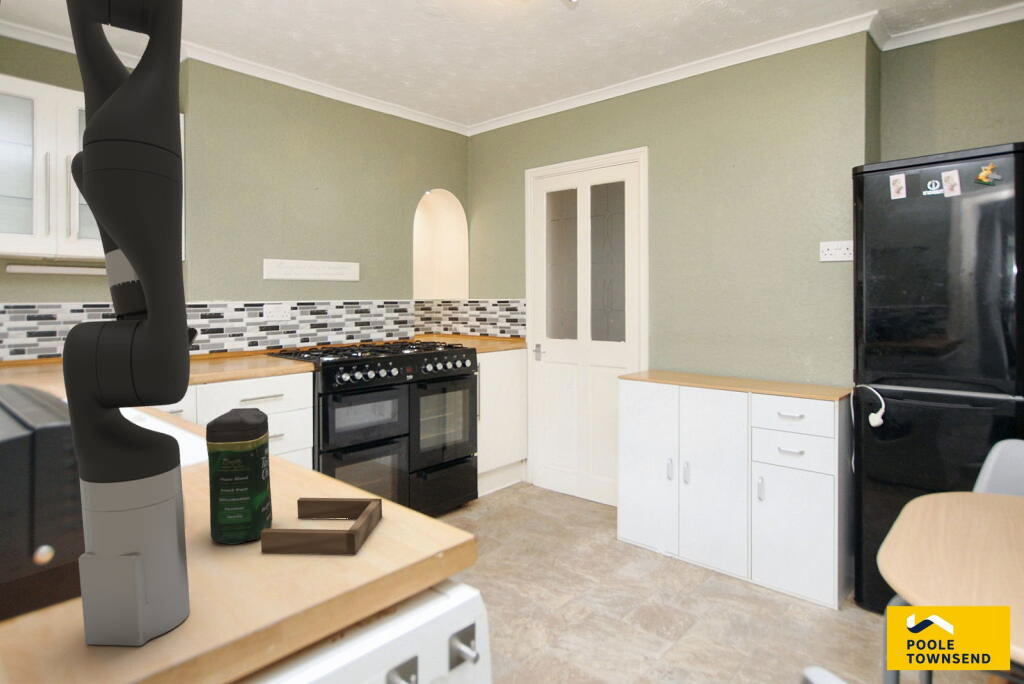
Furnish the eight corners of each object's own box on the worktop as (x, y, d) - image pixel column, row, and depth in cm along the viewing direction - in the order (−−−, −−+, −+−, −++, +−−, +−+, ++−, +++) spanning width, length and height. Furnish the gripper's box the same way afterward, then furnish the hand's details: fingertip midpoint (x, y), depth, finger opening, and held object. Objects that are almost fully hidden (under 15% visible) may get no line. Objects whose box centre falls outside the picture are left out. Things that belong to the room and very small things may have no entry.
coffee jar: (263, 544, 86) (256, 416, 84) (204, 548, 85) (196, 419, 83) (279, 518, 96) (273, 403, 94) (226, 521, 95) (219, 405, 93)
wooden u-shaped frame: (355, 554, 83) (354, 533, 82) (261, 552, 83) (260, 532, 83) (382, 516, 96) (381, 498, 96) (301, 515, 97) (300, 497, 96)
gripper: (79, 285, 83) (106, 408, 83) (186, 271, 88) (211, 386, 88) (92, 294, 90) (116, 408, 89) (190, 281, 95) (214, 388, 95)
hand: (163, 397), depth 89 cm, fingers closed
